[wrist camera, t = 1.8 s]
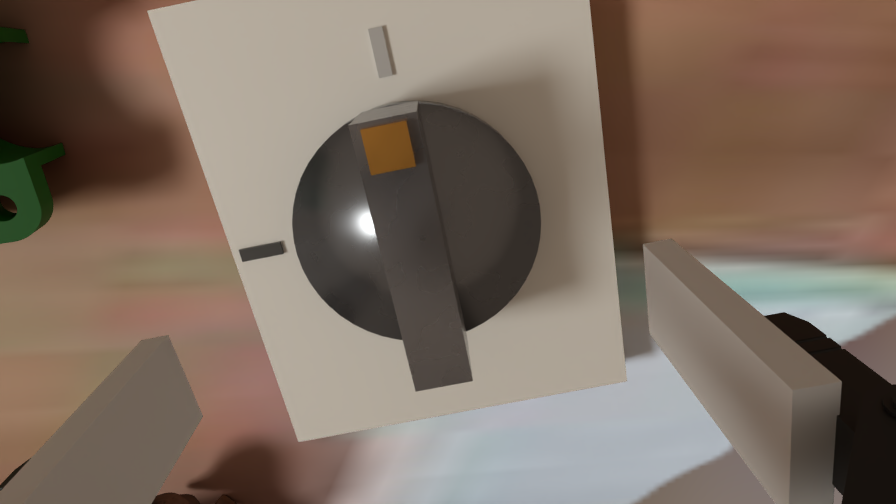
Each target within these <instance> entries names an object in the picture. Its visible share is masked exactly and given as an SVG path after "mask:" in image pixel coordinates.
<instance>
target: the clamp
mask: <svg viewBox="0 0 896 504" xmlns="http://www.w3.org/2000/svg"><path fill="white" fill-rule="evenodd" d="M3 42H19V43H29V41H28V38H27V34H26V31H25V30H22V29H13V28H5V27H0V43H3ZM63 155H65V151H64V148H63V145H62V143H60V144H57V145H55V146H51V147H45V148H29V147H23V146H18V145H15V144H12V143H9V142H7V141H5V140H3V139H1V138H0V196H1V195H3V196H6V197H8V198H10V199H11V200H13V201H14V203H15V204H16V206H17V213H13V212H10V211H8V210H6V209H5V208H4V207H3V206H2V204H1V202H0V244H2V243H8V242H14V241H19V240H22V239H24V238H26V237H28V236H30V235H31V234H32V233H34V232H35V231H37V230H38V229H39V228H41V227H42V226H44V225H45V224H46V223H47V222H48V220H49V219H50V217H51V215H52V212H53V199H52V196H51V193H50V190H49V187H48V184H47V181H46V178H45V175H44V172H43V170H42V167H41V165H43V164H45V163H48V162H50V161H52V160H54V159H56V158H59V157H61V156H63Z"/></svg>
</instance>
